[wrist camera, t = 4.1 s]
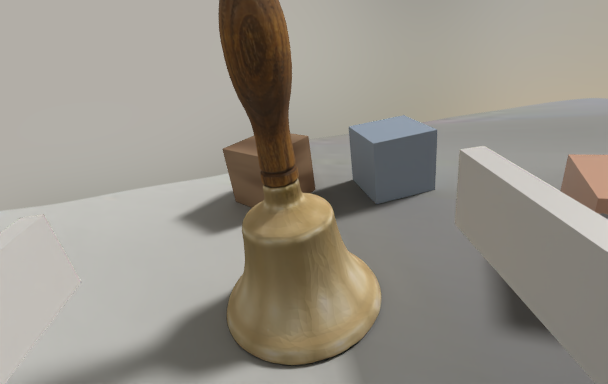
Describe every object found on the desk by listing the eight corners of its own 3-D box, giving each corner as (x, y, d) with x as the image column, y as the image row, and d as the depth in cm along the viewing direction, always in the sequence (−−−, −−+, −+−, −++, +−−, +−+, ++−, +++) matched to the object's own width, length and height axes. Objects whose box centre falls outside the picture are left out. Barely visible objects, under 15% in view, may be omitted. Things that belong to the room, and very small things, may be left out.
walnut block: (276, 179, 34) (266, 130, 31) (315, 190, 30) (308, 136, 28) (236, 202, 30) (222, 148, 28) (275, 216, 27) (263, 157, 25)
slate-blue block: (404, 168, 32) (403, 115, 30) (434, 190, 27) (437, 129, 25) (352, 180, 31) (348, 126, 29) (376, 204, 27) (373, 143, 24)
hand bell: (204, 296, 20) (91, -25, 13) (317, 235, 24) (278, -36, 17) (279, 405, 14) (137, -106, 7) (415, 299, 18) (420, -93, 10)
